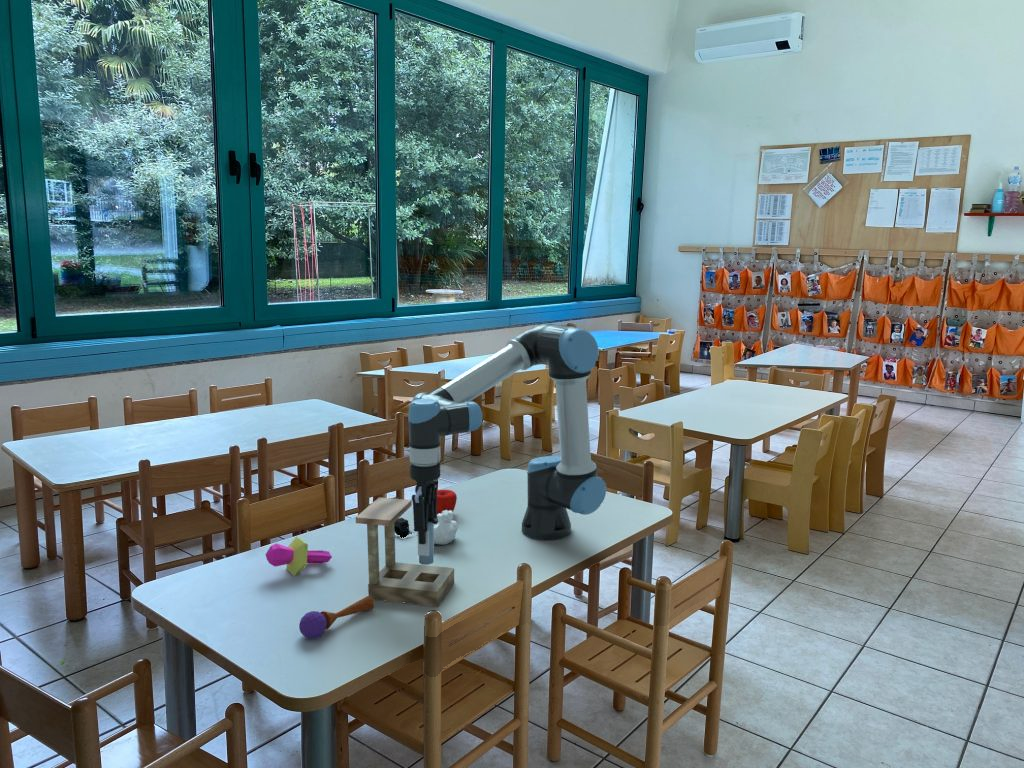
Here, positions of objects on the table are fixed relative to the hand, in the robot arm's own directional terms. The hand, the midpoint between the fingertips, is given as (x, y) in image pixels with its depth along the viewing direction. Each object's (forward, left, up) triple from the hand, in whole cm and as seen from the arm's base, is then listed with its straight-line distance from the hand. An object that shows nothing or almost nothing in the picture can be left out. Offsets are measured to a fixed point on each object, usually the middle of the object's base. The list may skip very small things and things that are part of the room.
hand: (426, 551), depth 198 cm
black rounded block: (+21, -37, -12) cm, 44 cm away
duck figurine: (+6, -32, -11) cm, 35 cm away
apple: (+13, -54, -11) cm, 57 cm away
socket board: (+4, 0, -11) cm, 12 cm away
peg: (0, 0, -3) cm, 3 cm away
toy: (+38, -4, -11) cm, 40 cm away
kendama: (+15, +20, -11) cm, 28 cm away
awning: (+11, 0, -7) cm, 13 cm away
